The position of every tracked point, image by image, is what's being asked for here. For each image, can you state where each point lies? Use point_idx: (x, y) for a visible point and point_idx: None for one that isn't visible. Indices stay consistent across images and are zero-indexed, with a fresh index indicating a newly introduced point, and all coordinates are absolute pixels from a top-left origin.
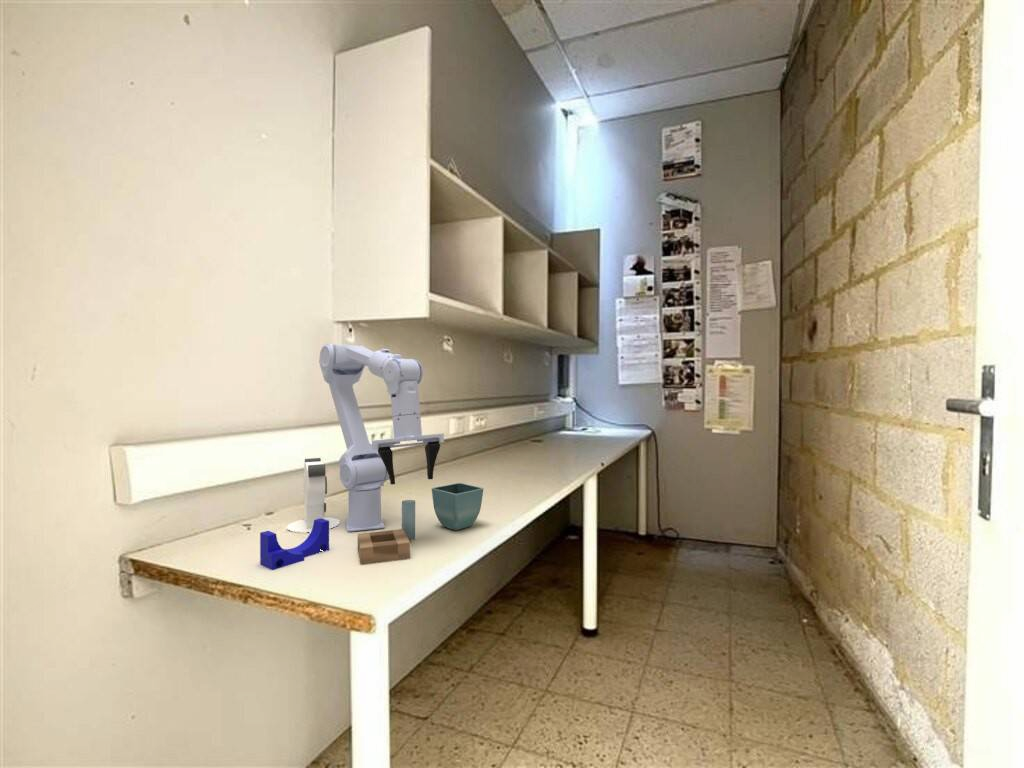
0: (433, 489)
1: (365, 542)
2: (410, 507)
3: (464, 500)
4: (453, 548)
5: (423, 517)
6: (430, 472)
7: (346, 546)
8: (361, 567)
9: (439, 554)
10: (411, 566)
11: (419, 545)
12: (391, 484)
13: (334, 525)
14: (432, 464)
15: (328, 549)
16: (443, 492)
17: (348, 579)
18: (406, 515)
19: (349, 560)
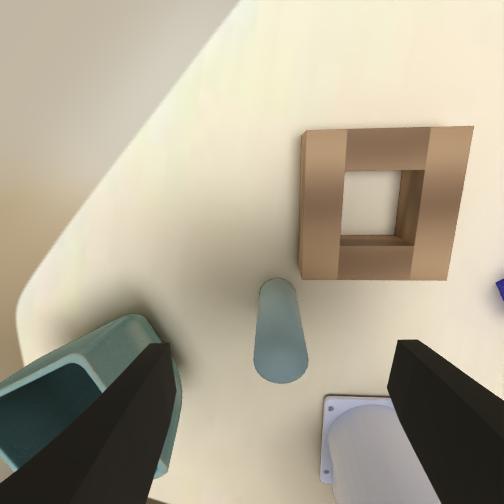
0: (161, 458)
1: (444, 182)
2: (277, 326)
3: (64, 351)
4: (171, 177)
5: (211, 445)
6: (143, 370)
7: (446, 294)
8: (444, 109)
9: (216, 140)
10: (309, 66)
11: (257, 234)
12: (420, 343)
13: None
14: (91, 421)
15: (499, 282)
16: None
17: (501, 18)
18: (290, 314)
19: None
